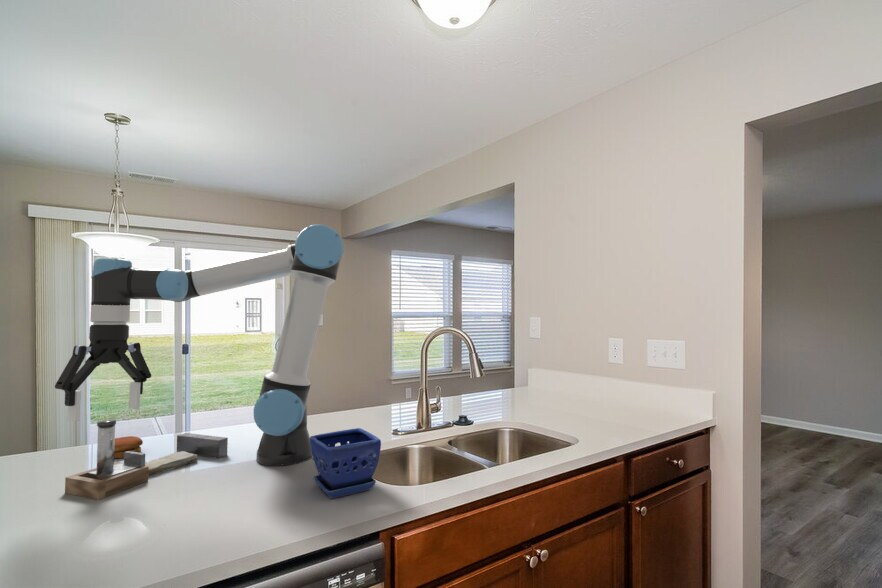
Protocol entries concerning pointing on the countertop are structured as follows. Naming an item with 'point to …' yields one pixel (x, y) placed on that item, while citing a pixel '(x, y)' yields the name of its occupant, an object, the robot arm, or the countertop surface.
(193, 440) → the grey rectangular bar
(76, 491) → the frame
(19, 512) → the countertop surface
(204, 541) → the countertop surface
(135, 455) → the ram
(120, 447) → the burger
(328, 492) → the flower pot
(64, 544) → the countertop surface
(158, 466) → the stone
